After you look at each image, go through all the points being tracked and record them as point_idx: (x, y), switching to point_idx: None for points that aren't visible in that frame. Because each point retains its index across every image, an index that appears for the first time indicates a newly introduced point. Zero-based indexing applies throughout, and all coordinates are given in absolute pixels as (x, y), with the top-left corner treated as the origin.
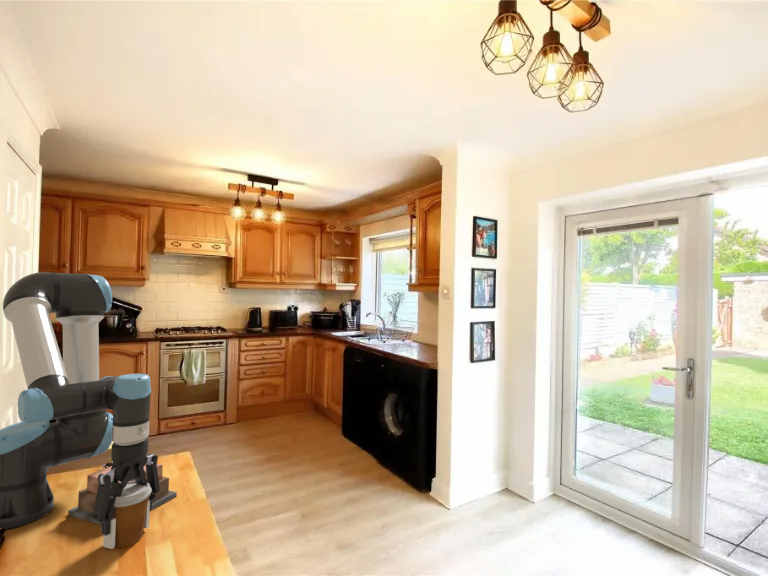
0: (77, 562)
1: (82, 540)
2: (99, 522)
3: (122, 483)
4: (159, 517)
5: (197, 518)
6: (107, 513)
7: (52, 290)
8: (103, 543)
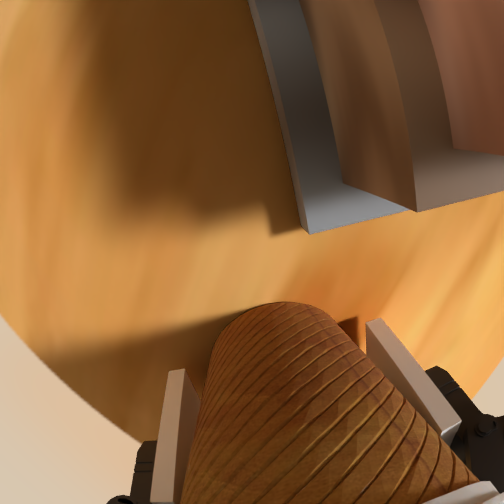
0: (76, 359)
1: (123, 182)
2: (267, 61)
3: None
4: (457, 280)
5: (472, 380)
6: (327, 63)
7: None
8: (168, 381)
